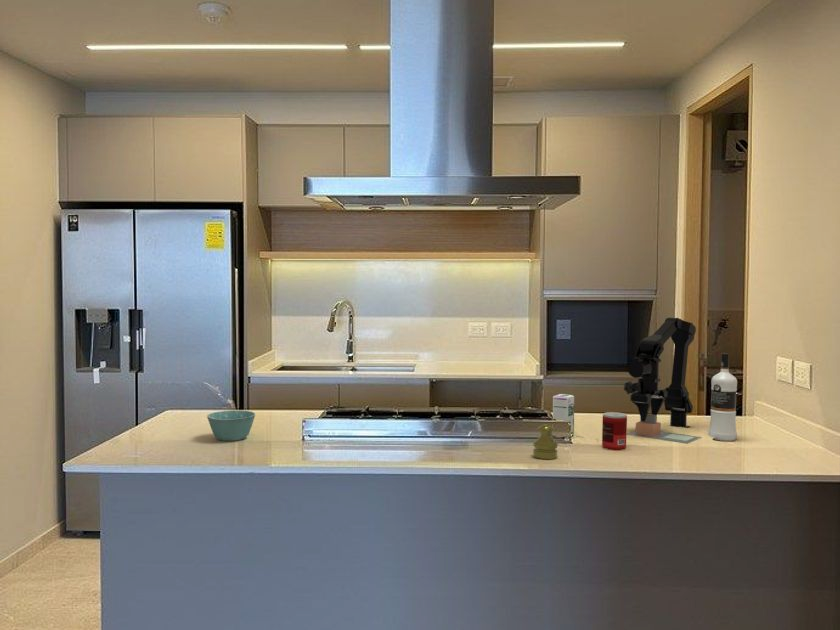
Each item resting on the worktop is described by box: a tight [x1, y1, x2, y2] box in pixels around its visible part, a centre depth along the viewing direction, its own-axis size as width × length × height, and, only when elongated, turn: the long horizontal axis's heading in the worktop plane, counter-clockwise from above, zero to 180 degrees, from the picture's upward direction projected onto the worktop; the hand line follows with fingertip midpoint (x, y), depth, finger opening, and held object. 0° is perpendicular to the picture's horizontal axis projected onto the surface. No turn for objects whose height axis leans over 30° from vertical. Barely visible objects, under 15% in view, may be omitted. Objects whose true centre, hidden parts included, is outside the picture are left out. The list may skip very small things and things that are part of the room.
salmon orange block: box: [635, 413, 662, 436], centre depth 262 cm, size 6×6×7 cm
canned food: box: [601, 411, 628, 451], centre depth 243 cm, size 8×8×11 cm
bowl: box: [206, 409, 256, 442], centre depth 249 cm, size 16×16×8 cm
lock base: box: [627, 429, 703, 445], centre depth 258 cm, size 14×22×4 cm, turn 50°
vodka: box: [707, 352, 738, 442], centre depth 258 cm, size 9×9×30 cm
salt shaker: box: [532, 424, 559, 460], centre depth 229 cm, size 7×7×10 cm
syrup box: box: [552, 393, 575, 437], centre depth 260 cm, size 6×6×14 cm
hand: (648, 419), depth 262 cm, fingers open, 9 cm apart
